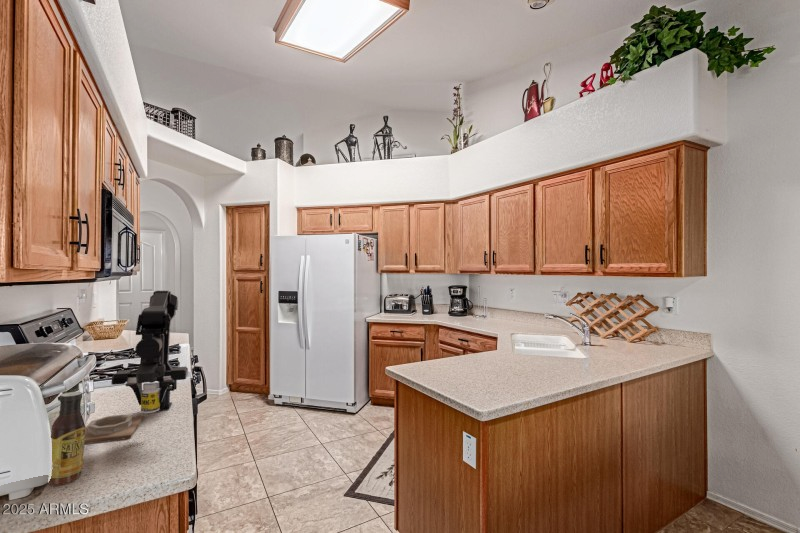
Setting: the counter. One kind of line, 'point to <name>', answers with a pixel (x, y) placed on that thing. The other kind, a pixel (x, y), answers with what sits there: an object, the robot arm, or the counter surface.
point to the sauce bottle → (68, 440)
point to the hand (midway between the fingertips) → (150, 403)
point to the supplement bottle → (150, 397)
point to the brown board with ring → (112, 428)
